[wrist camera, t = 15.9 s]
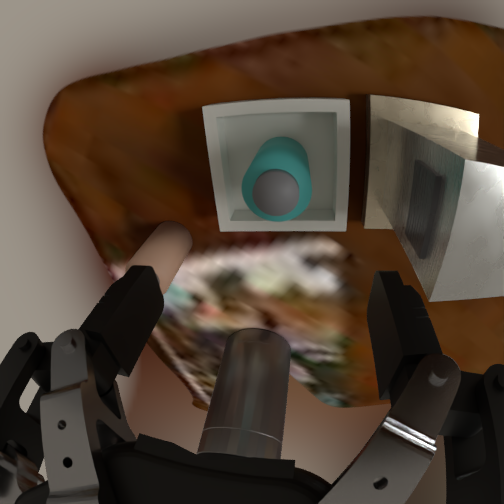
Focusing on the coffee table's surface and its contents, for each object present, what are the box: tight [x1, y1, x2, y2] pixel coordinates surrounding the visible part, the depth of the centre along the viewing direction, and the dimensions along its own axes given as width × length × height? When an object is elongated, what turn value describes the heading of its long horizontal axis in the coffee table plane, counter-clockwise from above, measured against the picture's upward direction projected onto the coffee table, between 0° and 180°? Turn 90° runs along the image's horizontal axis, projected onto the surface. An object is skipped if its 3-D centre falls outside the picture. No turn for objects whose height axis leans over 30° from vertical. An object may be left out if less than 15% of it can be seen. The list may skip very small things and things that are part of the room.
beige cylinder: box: [126, 221, 192, 294], centre depth 27 cm, size 4×4×8 cm
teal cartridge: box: [242, 137, 312, 222], centre depth 20 cm, size 4×4×8 cm
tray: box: [202, 98, 350, 231], centre depth 22 cm, size 11×11×3 cm
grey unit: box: [361, 94, 504, 302], centre depth 16 cm, size 12×11×14 cm
